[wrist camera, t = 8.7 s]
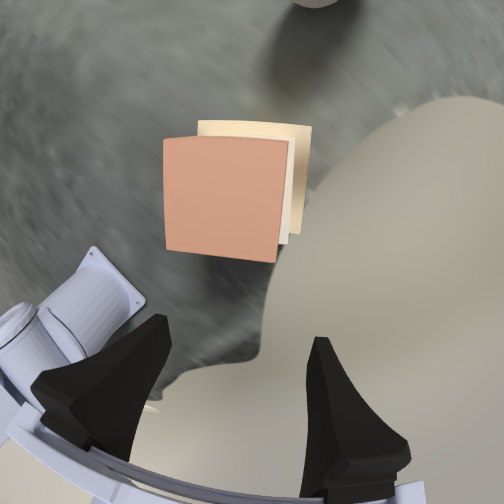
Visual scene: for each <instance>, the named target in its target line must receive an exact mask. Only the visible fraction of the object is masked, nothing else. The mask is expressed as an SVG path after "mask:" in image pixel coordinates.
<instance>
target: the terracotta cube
mask: <svg viewBox="0 0 504 504" xmlns="http://www.w3.org/2000/svg"><path fill="white" fill-rule="evenodd" d="M288 145H289V141H287V140H277V139H265V138H252V137H233V136H191V137H180V138H170V139H164V142H163V181H164V213H165V232H166V247H167V250H174V251H182V252H190V253H198V254H206V255H213V256H221V257H229V258H238V259H246V260H254V261H262V262H270V263H276V256H277V249H278V242H279V234H280V227H281V218H282V208H283V199H284V189H285V178H286V168H287V157H288Z"/></svg>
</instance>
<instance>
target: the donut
mask: <svg viewBox="0 0 504 504" xmlns="http://www.w3.org/2000/svg"><path fill="white" fill-rule="evenodd" d="M290 1H292V2H294V3H296V4H299V5H301V6H304V7H308V8H321V7H324V6H328V5H330V4H333V3H335V2H336V1H338V0H290Z"/></svg>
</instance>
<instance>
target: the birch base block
mask: <svg viewBox="0 0 504 504" xmlns="http://www.w3.org/2000/svg"><path fill="white" fill-rule="evenodd" d="M311 129H312V127H310V126H302V125H292V124H282V123H270V122H254V121H226V120H198V136H268V137H286V138H295V151H294V169H293V185H292V199H291V213H290V226H289V233H292V234H300V230H301V222H302V215H303V207H304V198H305V190H306V181H307V171H308V162H309V151H310V141H311Z"/></svg>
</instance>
